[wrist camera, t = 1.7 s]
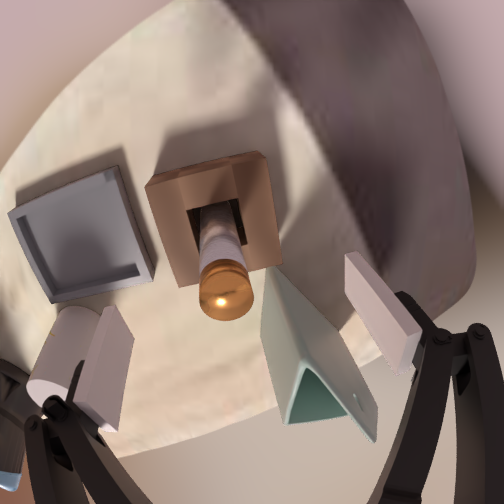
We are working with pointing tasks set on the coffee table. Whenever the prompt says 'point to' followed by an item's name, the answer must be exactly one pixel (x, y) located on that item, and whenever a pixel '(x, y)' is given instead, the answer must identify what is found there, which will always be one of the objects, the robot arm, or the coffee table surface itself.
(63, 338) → the white cylinder
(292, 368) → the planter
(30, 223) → the tray
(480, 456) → the robot arm
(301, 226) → the coffee table surface
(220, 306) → the pin
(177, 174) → the block
